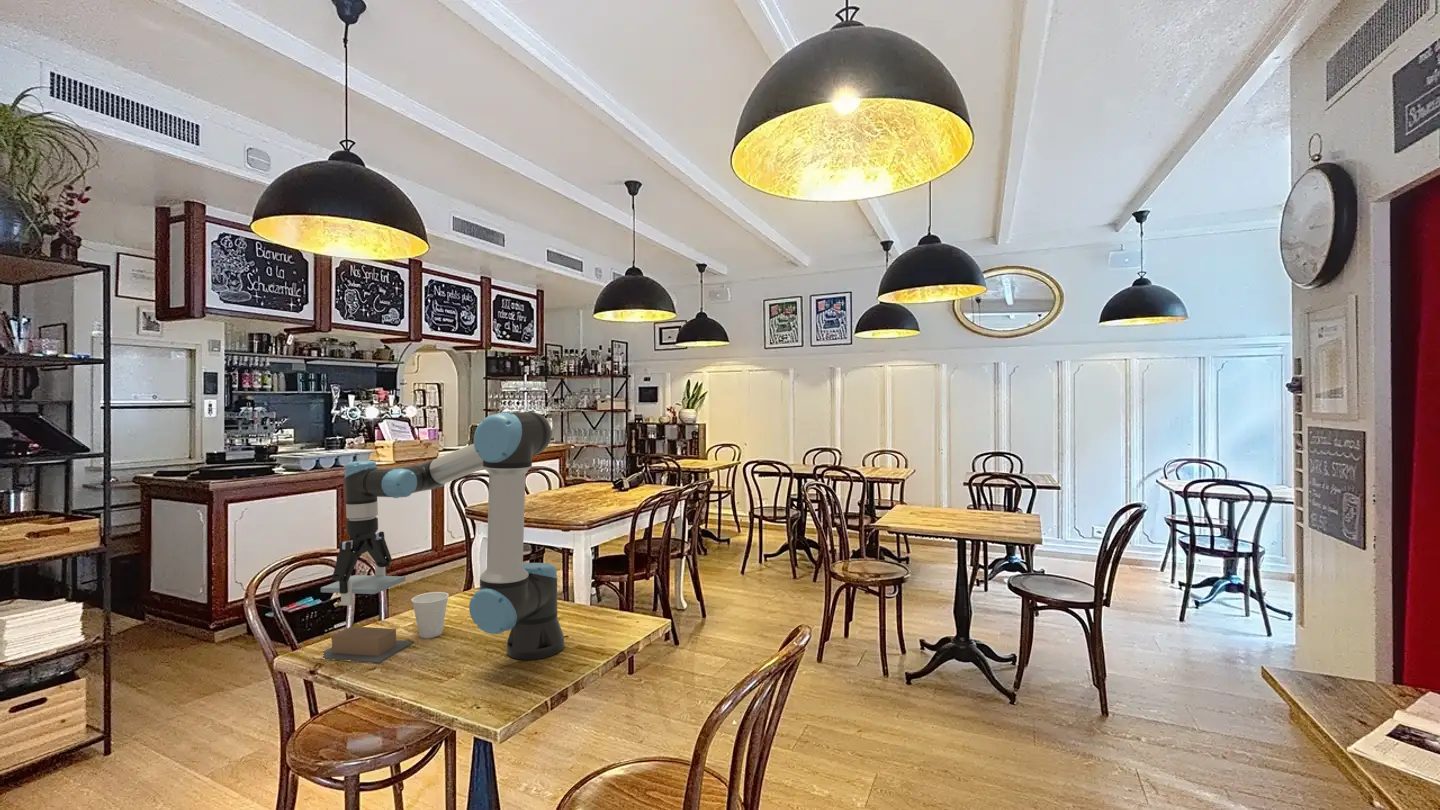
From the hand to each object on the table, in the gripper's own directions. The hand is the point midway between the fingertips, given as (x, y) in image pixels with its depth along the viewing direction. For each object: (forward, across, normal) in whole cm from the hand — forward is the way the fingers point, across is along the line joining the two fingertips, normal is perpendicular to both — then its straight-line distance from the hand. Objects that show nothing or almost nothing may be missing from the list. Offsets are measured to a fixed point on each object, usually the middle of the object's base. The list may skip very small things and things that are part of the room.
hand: (364, 597), depth 172 cm
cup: (+15, -13, +10) cm, 22 cm away
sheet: (-3, 0, 0) cm, 3 cm away
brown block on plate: (+15, 0, 0) cm, 15 cm away
